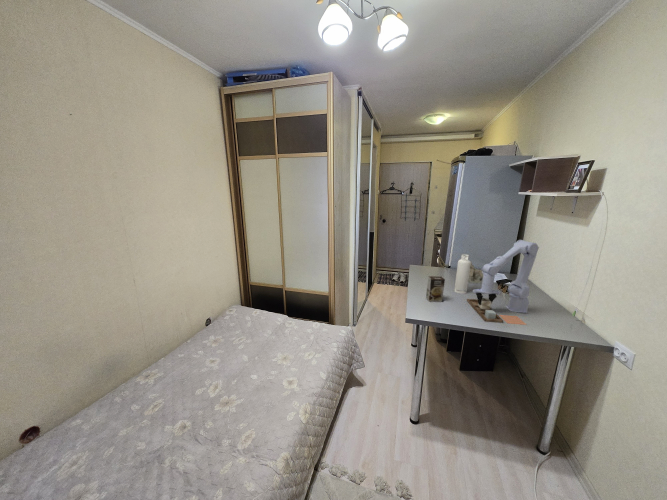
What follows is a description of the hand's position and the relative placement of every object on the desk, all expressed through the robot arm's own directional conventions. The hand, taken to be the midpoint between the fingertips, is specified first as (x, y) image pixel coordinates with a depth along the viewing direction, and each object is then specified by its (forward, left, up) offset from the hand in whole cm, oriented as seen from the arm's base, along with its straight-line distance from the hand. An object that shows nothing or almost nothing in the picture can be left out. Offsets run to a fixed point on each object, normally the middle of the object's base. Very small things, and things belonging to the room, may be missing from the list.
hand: (484, 304), depth 152 cm
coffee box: (+26, -13, -5) cm, 30 cm away
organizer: (0, 0, -5) cm, 5 cm away
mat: (-12, +9, -5) cm, 16 cm away
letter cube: (0, 0, -2) cm, 2 cm away
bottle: (+3, -31, -5) cm, 32 cm away
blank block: (0, +9, -4) cm, 10 cm away
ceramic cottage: (-16, -57, -5) cm, 60 cm away
